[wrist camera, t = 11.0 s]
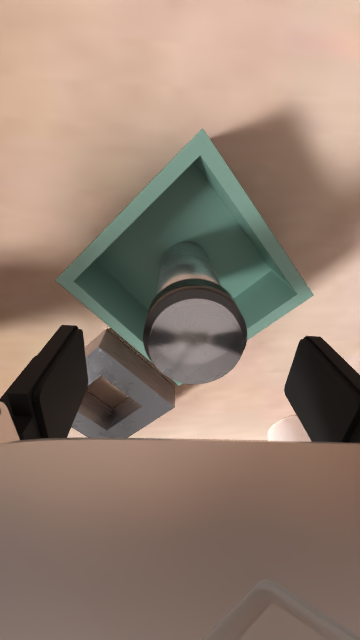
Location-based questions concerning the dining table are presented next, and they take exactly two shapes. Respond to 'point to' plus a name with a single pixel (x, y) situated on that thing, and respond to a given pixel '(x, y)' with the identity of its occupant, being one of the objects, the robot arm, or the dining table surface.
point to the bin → (194, 226)
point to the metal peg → (192, 319)
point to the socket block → (130, 377)
